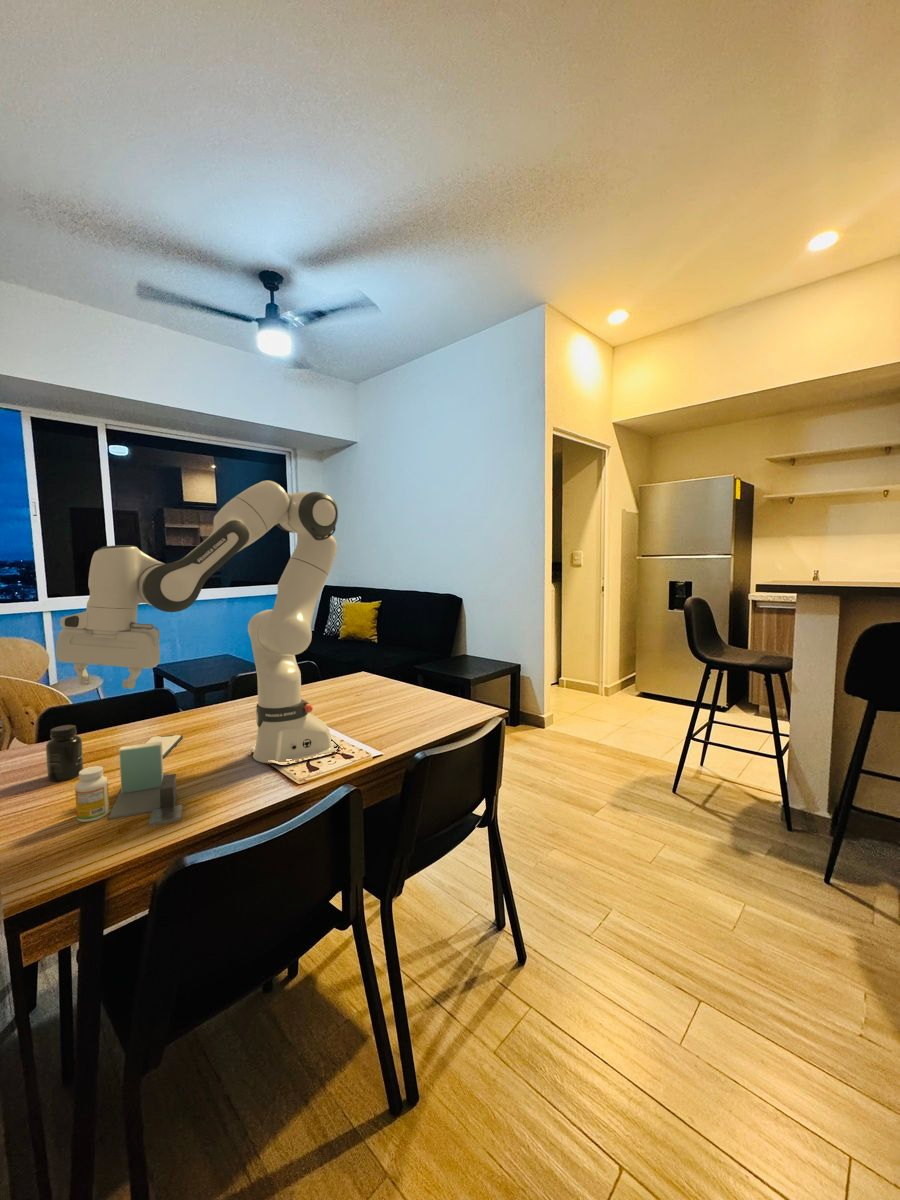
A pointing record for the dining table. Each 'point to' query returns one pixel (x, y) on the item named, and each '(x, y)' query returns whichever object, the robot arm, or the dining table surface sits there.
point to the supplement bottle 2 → (91, 794)
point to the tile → (141, 767)
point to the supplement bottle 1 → (64, 753)
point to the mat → (136, 802)
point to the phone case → (166, 742)
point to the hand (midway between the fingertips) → (106, 686)
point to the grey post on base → (167, 803)
